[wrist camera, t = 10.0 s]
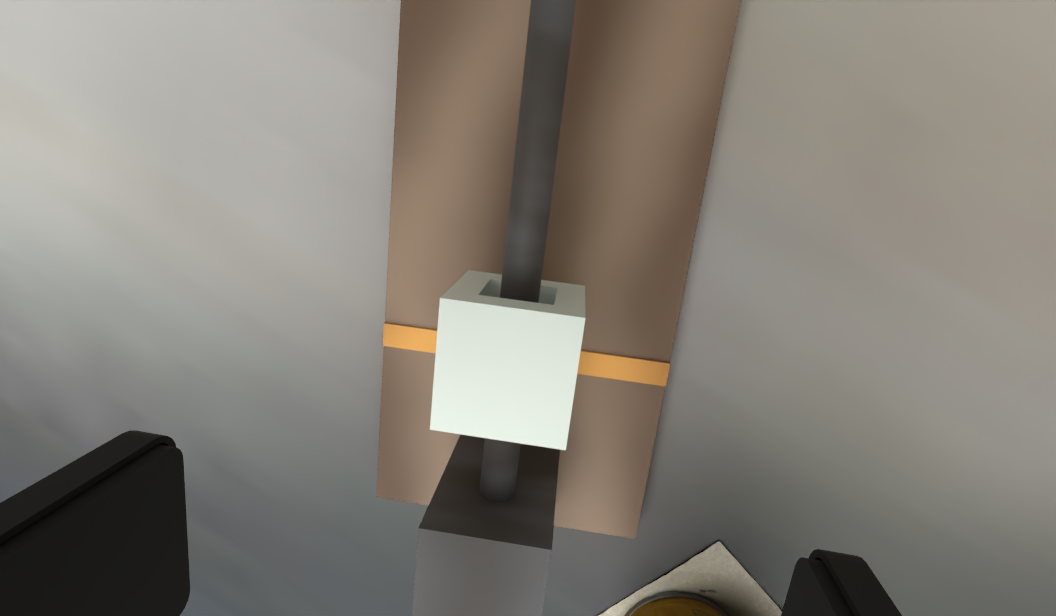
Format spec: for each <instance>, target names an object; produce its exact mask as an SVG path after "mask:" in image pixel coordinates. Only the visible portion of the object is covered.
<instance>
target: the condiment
mask: <svg viewBox="0 0 1056 616" xmlns="http://www.w3.org/2000/svg"><path fill="white" fill-rule="evenodd" d="M700 590H705V591H706V592H705V593H702V592H700ZM709 590H715V591H716V592H715V593H711V592H708V591H709ZM781 614H782V611H781V610H780V609H779V607H778V606H777V605H776V604H775V603H774V602H773V601H772V600H771V598H770V597H769V596H768V595H767V594H766V593H765V592H764V591H763V589H762V588H761V587H760V586H759V584H757V582H756V581H755V580H754V579H753V578H752V577H751V576H750V575H749V574H748V573H747V572H746V571H745V569H744V568H743V567H742V566H741V565H740V563H739V562H738V561H737V560H736V559H735V558H734V557H733V556H732V555H731V554H730V553H729V551H728V550H727V549H726V548H725V547H724V546H723V545H722V544H721V542H720V541H718V542H717V543H715V544H714V545H712V546H710V547H709V548H708V549H707V550H705V551H703V552H702V553H700V554H698V555H696V556H694V557H693V558H691V559H690V560H689V561H688V562H686V563H685V564H683V565H681V566H679V567H677V568H676V569H674V570H672V571H671V572H670V573H668V574H667V575H665V576H662V577H661V578H659V579H658V580H656V581H654V582H652V583H651V584H648V585H647V586H645V587H643V588H641V589H640V590H638V591H636V592H635V593H634V594H632V595H630V596H629V597H628V598H626V599H624V600H622V601H621V602H619V603H618V604H616V605H614V606H612V607H611V608H609V609H608V610H606V611H605V612H604V613H602V614H600V615H598V616H781Z"/></svg>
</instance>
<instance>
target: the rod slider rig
mask: <svg viewBox="0 0 1056 616" xmlns="http://www.w3.org/2000/svg"><path fill="white" fill-rule="evenodd" d="M740 2H741V0H401V9H400V29H399V50H398V70H397V90H396V110H395V130H394V150H393V171H392V191H391V211H390V231H389V251H388V272H387V292H386V312H385V323H384V334H383V346H384V352H383V373H382V393H381V413H380V433H379V453H378V473H377V494H376V497H379V498H385V499H392V500H398V501H404V502H410V503H416V504H423V505H429V506H428V508H427V510H426V512H425V515H424V517H423V519H422V521H421V524H420V526H419V528H418V542H417V555H416V569H415V582H414V596H413V609H412V616H542V611H543V605H544V598H545V591H546V585H547V578H548V571H549V565H550V558H551V551H552V540H553V528H554V526H559V527H565V528H572V529H578V530H584V531H590V532H596V533H603V534H609V535H615V536H621V537H627V538H634V539H636V534H637V529H638V524H639V519H640V513H641V508H642V503H643V498H644V493H645V488H646V483H647V478H648V473H649V467H650V462H651V457H652V452H653V447H654V442H655V437H656V432H657V427H658V421H659V416H660V411H661V406H662V401H663V396H664V391H665V386H666V384H667V379H668V374H669V368H670V360H671V355H672V350H673V345H674V340H675V334H676V329H677V324H678V319H679V314H680V309H681V304H682V299H683V294H684V288H685V283H686V278H687V273H688V268H689V263H690V258H691V253H692V247H693V242H694V237H695V232H696V227H697V222H698V217H699V212H700V207H701V201H702V196H703V191H704V186H705V181H706V176H707V171H708V166H709V161H710V155H711V150H712V145H713V140H714V135H715V130H716V125H717V120H718V114H719V109H720V104H721V99H722V94H723V89H724V84H725V79H726V74H727V68H728V63H729V58H730V53H731V48H732V43H733V38H734V33H735V27H736V22H737V17H738V12H739V7H740ZM468 270H472V271H479V272H487V273H494V274H502V280H501V290H500V298H506V299H513V300H521V301H528V302H535V303H538V302H539V294H540V286H541V280H546V281H554V282H561V283H569V284H576V285H584V286H585V316H586V318H585V325H584V332H583V338H582V345H581V352H580V358H579V365H578V372H577V379H576V385H575V392H574V399H573V405H572V412H571V419H570V425H569V432H568V439H567V446H566V450H560V449H553V448H547V447H540V446H534V445H527V444H520V443H514V442H507V441H501V440H494V439H488V438H481V437H475V436H468V435H461V434H455V433H448V432H442V431H435V430H430V421H431V407H432V394H433V381H434V368H435V355H436V342H437V328H438V315H439V302H440V297H441V296H442V295H443V294H444V293H445V292H446V291H448V290H449V289H450V288H451V287H452V286H453V285H454V284H455V283H456V282H457V281H458V280H459V279H460V278H461V277H462V276H463V275H464V274H465V273H466V272H467V271H468Z"/></svg>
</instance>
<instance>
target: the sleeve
mask: <svg viewBox="0 0 1056 616" xmlns="http://www.w3.org/2000/svg"><path fill="white" fill-rule="evenodd" d="M501 280H502V274H494V273H487V272H479V271H472V270H468V271H467V272H466V273H465V274H464V275H463V276H462V277H461V278H460V279H459V280H458V281H457V282H456V283H455V284H454V285H453V286H452V287H451V288H450V289H449V290H448V291H446V292H445V293H444V294H443V295H442V296H441V297H440V302H439V315H438V328H437V342H436V355H435V368H434V381H433V394H432V407H431V421H430V430H435V431H442V432H448V433H455V434H461V435H468V436H475V437H481V438H488V439H494V440H501V441H507V442H514V443H520V444H527V445H534V446H540V447H547V448H553V449H560V450H566V446H567V439H568V432H569V425H570V419H571V412H572V405H573V399H574V392H575V385H576V379H577V372H578V365H579V358H580V352H581V345H582V338H583V332H584V325H585V318H586V316H585V286H584V285H576V284H569V283H561V282H554V281H546V280H541V286H540V294H539V302H538V303H535V302H528V301H521V300H513V299H506V298H500V290H501Z"/></svg>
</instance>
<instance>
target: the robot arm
mask: <svg viewBox="0 0 1056 616" xmlns="http://www.w3.org/2000/svg"><path fill="white" fill-rule="evenodd" d="M189 594H190V578H189V559H188V540H187V521H186V502H185V483H184V464H183V455H182V452H181V450H180V449H178V448H176V445H175V442H174V441H173V439H172V438H170V437H168V436H164V435H158V434H152V433H147V432H141V431H128V432H125V433H122V434H121V435H119V436H117V437H115V438H114V439H112V440H110V441H108V442H107V443H105V444H103V445H101V446H100V447H98V448H96V449H94V450H93V451H91V452H89V453H87V454H86V455H84V456H82V457H80V458H79V459H77V460H75V461H73V462H72V463H70V464H68V465H66V466H65V467H63V468H61V469H59V470H58V471H56V472H54V473H52V474H51V475H49V476H47V477H45V478H44V479H42V480H40V481H38V482H37V483H35V484H33V485H31V486H29V487H28V488H26V489H24V490H22V491H21V492H19V493H17V494H15V495H14V496H12V497H10V498H8V499H7V500H5V501H3V502H1V503H0V616H179V615H180V614H181V613H182V611H183V609H184V608H185V606H186V603H187V601H188V598H189ZM781 616H902V615H901V614H900V612H899V611H898V609H897V608H896V606H895V605H894V603H893V602H892V600H891V599H890V597H889V596H888V594H887V593H886V591H885V590H884V588H883V587H882V585H881V584H880V582H879V581H878V579H877V578H876V576H875V575H874V573H873V572H872V570H871V569H870V567H869V566H868V564H867V563H866V562H865V561H864V560H863V559H862V558H861V557H858V556H854V555H848V554H843V553H837V552H831V551H825V550H820V549H817V550H814V551H813V552H812V553H811V554H810V556H809V558H800V559H799V560H798V561H797V563H796V566H795V569H794V572H793V576H792V579H791V583H790V586H789V590H788V593H787V597H786V600H785V604H784V607H783V611H782V614H781Z"/></svg>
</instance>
